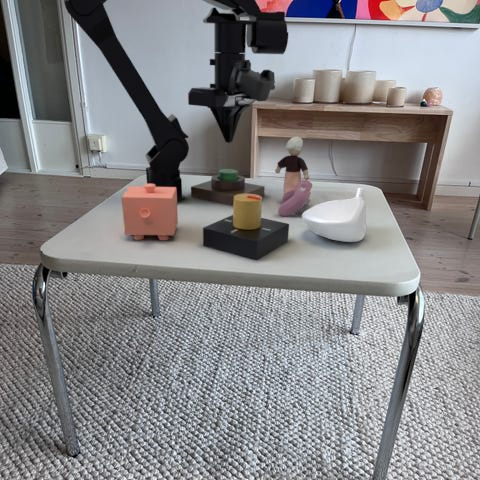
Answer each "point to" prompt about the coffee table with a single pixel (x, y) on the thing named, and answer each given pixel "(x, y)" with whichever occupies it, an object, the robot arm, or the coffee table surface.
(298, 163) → the grandmother figurine
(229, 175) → the lamp switch
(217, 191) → the lamp base
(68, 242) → the coffee table surface
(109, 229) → the coffee table surface
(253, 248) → the panel
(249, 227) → the dimmer knob
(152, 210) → the pink cube teapot
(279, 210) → the pink rounded piece
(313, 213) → the golf club head
